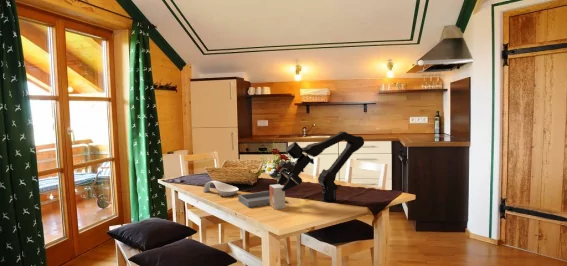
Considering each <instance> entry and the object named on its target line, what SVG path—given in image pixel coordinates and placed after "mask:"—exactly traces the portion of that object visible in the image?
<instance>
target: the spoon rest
mask: <svg viewBox="0 0 567 266" xmlns="http://www.w3.org/2000/svg"><path fill="white" fill-rule="evenodd" d="M211 184H213V185H214V186H215V189H216V190H217V192H218V193H219V194H220V195H221V196H223V197H230V196H234V195H236V194H237V193H238V191H239V188H238V187H237V186H233V185H231V184H227V183H224V182H221V181H219V180H211V181H208V182H206V183H205V184H204V187H203V191H202V192H203V193H207V192H210V191H211V189H210V188H211Z"/></svg>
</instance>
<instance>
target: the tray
mask: <svg viewBox="0 0 567 266" xmlns="http://www.w3.org/2000/svg"><path fill="white" fill-rule="evenodd" d="M237 197H238V202H240V203H241V204H242V205H244V206H245V207H247V208H248V209H250V208H255V207H262V206H263V207H264V206H270V190H264V191H259V192H251V193H244V194H242V193H241V194H238V195H237Z"/></svg>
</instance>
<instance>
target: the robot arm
mask: <svg viewBox="0 0 567 266" xmlns="http://www.w3.org/2000/svg"><path fill="white" fill-rule="evenodd" d="M342 141H344V142H346V143H345V144H346V145H345V147H344V149H343V150H342V152H341V153H340V154H339V156H337V158H336V159H335V160H334V162H333V163H332V164H331V166H330V167H329V168H328V169H324V168H323V169H322V170H321V172H320V173H318V177H317V181H318V184H319V185H320V186H321V188H322V191H321V198H320V200H321V201H324V202H325V203H333V202H338V201H339V200H338V198H337V190H338V185H337V184H336V182H335V181H336V178H337V175H338V173H339V172H340V170H341V169H342V168H343V166H344V165H345V164H346V163H347V161H348V160H349V159H350V158H351V156H352V155H353V154H354V153H356V152H357V151H359V150H360V149H361V148H362V147H363V146H364V144H365V140H364V138H363V137H362V136H359V135H353V134H351V133H348V132H347V131H339V132H338V133H336V134H334V135H332V136H330V137H328V138H325V139H323V140H321V141H319V142H313V143H310V144H307V145H306V146H305V147H304V146H303V147H301V146H300V145H299V143H298V142H297V141H293V142H292V143H291V144H290V145H288V146H287V147H286V148H285V152H286V153H287V154H288V155H289V156H290V157H291V158H292V159H293V160H295V159H296V160H295V161H294V162H292V161H290V160H287V161H285V160H282V159H281V160H280V162H279V165H278V166H279V167H280V169H279V178H278V180H277V182H276V184H280V185H281V186H283V185H284V186H283V188H282V191H285V192H286V191H288V190H289V189H292V188H293V187H297V186H299V185H301V184H302V183H303V179H302V178H301V177H300V174H301V173H304V172H305V168H307V166H308V165H309V164H311V165H314V164H315V162H314V160H315V159H314V158H315V157H317V156H319V155H320V154H322V153H323V152H324V151H325V150H326V149H327V148H328V149H329V148H330V147H332V146H334V145H336V144H338V143H340V142H342ZM311 157H312V158H311Z"/></svg>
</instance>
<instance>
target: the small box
mask: <svg viewBox="0 0 567 266" xmlns="http://www.w3.org/2000/svg"><path fill="white" fill-rule="evenodd" d="M283 187H284V186H283V185H280V184H277V183H276V184H269V187H268V188H269V191H270V205H269V206H270V207H271V208H272V209H274V210H281V209H286V190H285V191H282V188H283Z"/></svg>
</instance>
